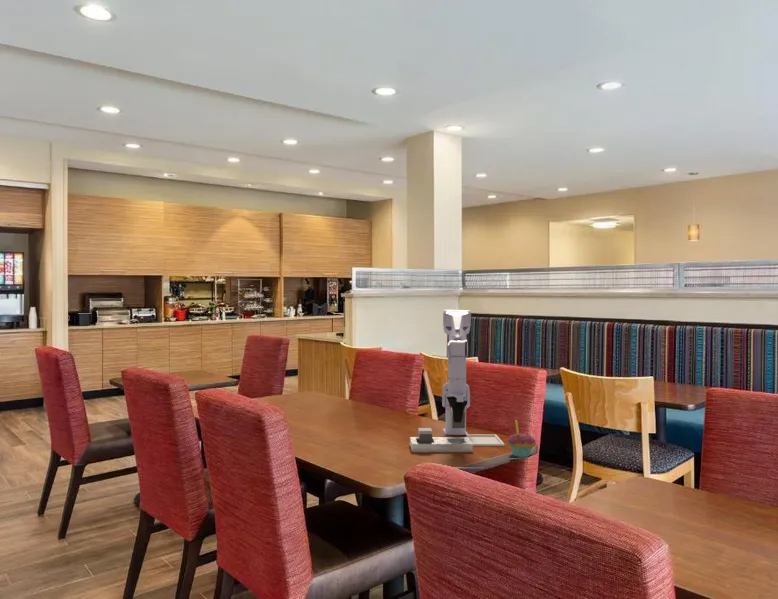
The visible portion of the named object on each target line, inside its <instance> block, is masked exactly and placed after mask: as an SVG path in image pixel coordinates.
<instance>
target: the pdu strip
mask: <svg viewBox="0 0 778 599" xmlns="http://www.w3.org/2000/svg"><path fill="white" fill-rule="evenodd" d="M409 447H410V450H411V451H410V452H411V453H473V451H474V450H473V447H474V446H473V444H472V442H471V441H470V439H469V438H468V437H466V436H464V437H463V436H460V437H459V436H454V437H453V436H441V437H440V436H432V443H418V436H410V437H409Z"/></svg>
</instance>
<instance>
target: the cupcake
mask: <svg viewBox="0 0 778 599" xmlns="http://www.w3.org/2000/svg"><path fill="white" fill-rule="evenodd" d="M514 419H515V420H514V421H515V431H516V433H513V434H511V435H509V437H508V438H507V443H506V444H507V445H508V446H509V447H510V450H511V453H512V456H514V457H515V458H517V459H522V460H523V459H528V458H529V457H530V456H531V455H530V454H531V452H532V449H533V448H535V447H536V440H535V438H534V437H533V436H531V434H528V433H524V432H523V433H522V432H520V431H519V423H518V420H517V417H515V418H514Z"/></svg>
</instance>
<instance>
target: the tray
mask: <svg viewBox="0 0 778 599" xmlns="http://www.w3.org/2000/svg"><path fill="white" fill-rule="evenodd" d="M465 437H468V438H469V439H470V441H471V442H472V444H473V447H505V443H504V442H503V440H501V438H500V437H499V436H498V435H497V434H496V433H495V434H494V433H493V434H479V433H477V434H475V433H474V434H470V433H468V434H466V436H465Z"/></svg>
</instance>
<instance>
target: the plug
mask: <svg viewBox="0 0 778 599" xmlns="http://www.w3.org/2000/svg"><path fill="white" fill-rule="evenodd" d="M451 427H452V428H465V409H464V412H463V416H462V421H461V422H454V419H453V411H452V407H451Z"/></svg>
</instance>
